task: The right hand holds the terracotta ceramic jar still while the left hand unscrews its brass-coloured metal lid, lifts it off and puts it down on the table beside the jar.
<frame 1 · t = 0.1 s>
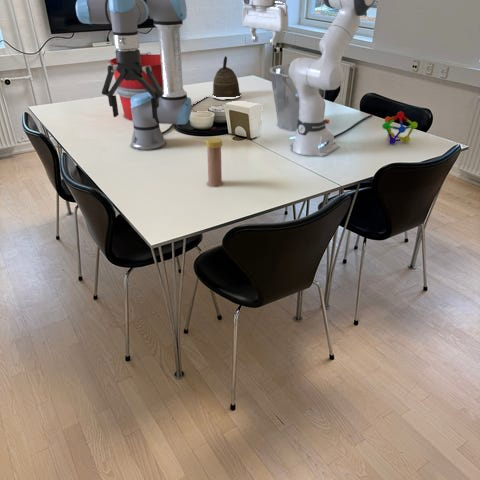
left hand: (135, 116, 150), 28 cm above the table, tool pointing down, fingers open, 13 cm apart
right hand: (263, 43, 159), 48 cm above the table, tool pointing down, fingers open, 8 cm apart
educational toy: (395, 143, 211), on the table
bell: (226, 97, 281), on the table
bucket: (295, 125, 233), on the table
jar: (215, 183, 171), on the table
lid: (213, 140, 162), point 17 cm above the table, screwed on, not yet turned
bucket 2: (147, 114, 248), on the table
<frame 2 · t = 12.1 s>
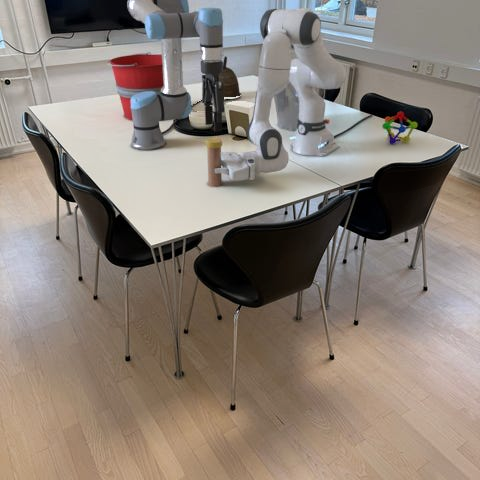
left hand: (213, 127, 159), 22 cm above the table, tool pointing down, fingers open, 8 cm apart
right hand: (212, 167, 167), 7 cm above the table, tool horizontal, fingers closed on jar, 5 cm apart
jar: (215, 183, 171), on the table, touching right hand
everything else where it was.
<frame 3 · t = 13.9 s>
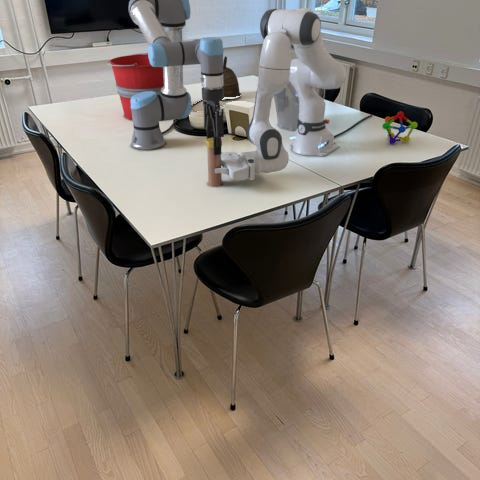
left hand: (214, 151, 164), 13 cm above the table, tool pointing down, fingers closed on lid, 6 cm apart
right hand: (212, 167, 167), 7 cm above the table, tool horizontal, fingers closed on jar, 5 cm apart
jar: (215, 183, 171), on the table, touching right hand
lid: (213, 140, 162), point 17 cm above the table, screwed on, not yet turned, touching left hand
everything else where it was.
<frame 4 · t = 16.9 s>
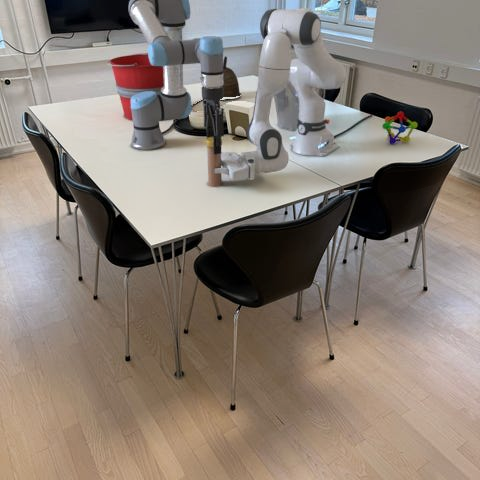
left hand: (214, 150, 164), 13 cm above the table, tool pointing down, fingers closed on lid, 6 cm apart
right hand: (212, 167, 167), 7 cm above the table, tool horizontal, fingers closed on jar, 5 cm apart
jar: (215, 183, 171), on the table, touching right hand
lid: (213, 140, 162), point 17 cm above the table, turned 97° so far, risen 0.3 cm, still on its thread, touching left hand
everything else where it was.
when the left hand's fingers open (0 cm above the table, at t = 24.3 s): lid stays where it is, point 2 cm above the table.
when the right hand's fingers open (7 cm above the table, at t = 25.3 s): jar stays where it is, on the table.
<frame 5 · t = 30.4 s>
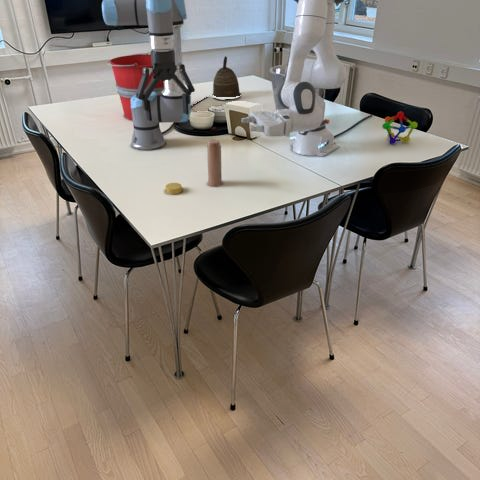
left hand: (168, 116, 151), 28 cm above the table, tool pointing down, fingers open, 13 cm apart
right hand: (245, 124, 162), 22 cm above the table, tool horizontal, fingers open, 8 cm apart
jar: (215, 183, 171), on the table
lid: (173, 186, 164), point 2 cm above the table, off its thread
everything else where it was.
at the end: lid came off its thread; lid point 1.7 cm above the table; the left hand is holding nothing; the right hand is holding nothing; jar tilted 0°; jar moved 0.0 cm from its start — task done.
